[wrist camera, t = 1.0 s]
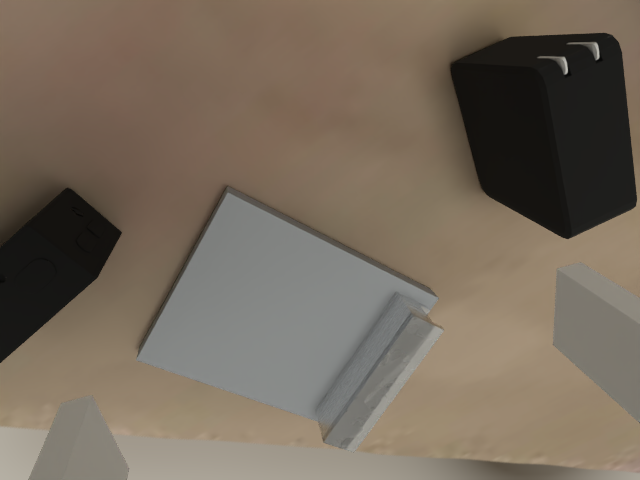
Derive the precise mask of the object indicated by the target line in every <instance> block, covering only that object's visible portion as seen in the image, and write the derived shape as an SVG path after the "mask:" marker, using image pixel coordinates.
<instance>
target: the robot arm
mask: <svg viewBox="0 0 640 480" xmlns="http://www.w3.org/2000/svg"><path fill="white" fill-rule="evenodd" d="M553 345H554V346H555V347H556V348H557V349H558V350H559V351H560V352H562V353H563V354H564V355H565V356H566V357H567V358H568V359H569V360H570V361H571V362H573V363H574V364H575V365H576V366H577V367H578V368H579V369H580V370H581V371H583V372H584V373H585V374H586V375H587V376H588V377H589V378H590V379H591V380H593V381H594V382H595V383H596V384H597V385H598V386H599V387H600V388H601V389H602V390H604V391H605V392H606V393H607V394H608V395H609V396H610V397H611V398H612V399H614V400H615V401H616V402H617V403H618V404H619V405H620V406H621V407H622V408H624V409H625V410H626V411H627V412H628V413H629V414H630V415H631V416H632V417H634V418H635V419H636V420H637V421H638V422H639V423H640V298H639V297H637V296H636V295H634V294H632V293H631V292H629V291H627V290H626V289H624V288H623V287H621V286H619V285H618V284H616V283H614V282H613V281H611V280H609V279H608V278H606V277H604V276H603V275H601V274H600V273H598V272H596V271H595V270H593V269H591V268H590V267H588V266H586V265H585V264H583V263H581V262H579V263H576V264H572V265H568V266H565V267H561V268H557V275H556V295H555V314H554V334H553ZM128 472H129V467H128V465H127V463H126V461H125V460H124V457H123V455H122V453H121V451H120V449H119V447H118V445H117V443H116V441H115V439H114V438H113V435H112V433H111V432H110V430H109V428H108V426H107V424H106V422H105V420H104V418H103V416H102V414H101V412H100V410H99V408H98V406H97V404H96V402H95V400H94V398H93V396H92V395H90V396H86V397H82V398H79V399H75V400H71V401H68V402H64V403H61V405H60V407H59V410H58V412H57V414H56V417H55V419H54V421H53V424H52V426H51V428H50V431H49V433H48V435H47V438H46V440H45V442H44V445H43V447H42V449H41V452H40V454H39V456H38V459H37V461H36V463H35V466H34V468H33V470H32V473H31V475H30V477H29V480H127V476H128Z"/></svg>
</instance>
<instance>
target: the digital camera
mask: <svg viewBox="0 0 640 480" xmlns="http://www.w3.org/2000/svg"><path fill="white" fill-rule="evenodd" d="M76 208H77V209H79V210H77V209H76ZM71 209H72V210H73V211H72V210H71ZM75 213H77V214H78V215H77V214H75ZM121 234H122V232H121V231H119V230H118V229H117V228H116V227H115V226H114V225H112V224H111V223H110V222H109V221H108V220H107V219H105V218H104V217H103V216H102V215H101V214H100V213H98V212H97V211H96V210H95V209H94V208H93V207H92V206H90V205H89V204H88V203H87V202H86V201H85V200H83V199H82V198H81V197H80V196H79V195H78V194H76V193H75V192H74V191H73V190H72V189H70V188H67V189H65V190H64V191H63V192H62V193H61V194H59V195H58V196H57V197H56V198H55V199H54V200H53V201H51V202H50V203H49V204H48V205H47V206H46V207H45V208H43V209H42V210H41V211H40V212H39V213H38V214H37V215H36V216H34V217H33V218H32V219H31V220H30V221H29V222H28V223H27V224H25V225H24V226H23V227H22V228H21V229H20V230H19V231H18V232H17V233H16V234H15V235H13V236H12V237H11V238H10V239H9V240H8V241H7V242H6V243H5V244H4V245H3V246H1V247H0V363H1V362H2V361H3V360H4V359H5V358H7V357H8V356H9V355H10V354H11V353H12V352H13V351H15V350H16V349H17V348H18V347H19V346H20V345H21V344H23V343H24V342H25V341H26V340H27V339H28V338H29V337H31V336H32V335H33V334H34V333H35V332H36V331H37V330H38V329H40V328H41V327H42V326H43V325H44V324H45V323H46V322H48V321H49V320H50V319H51V318H52V317H53V316H54V315H56V314H57V313H58V312H59V311H60V310H61V309H62V308H63V307H65V306H66V305H67V304H68V303H69V302H70V301H71V300H73V299H74V298H75V297H76V296H77V295H78V294H79V293H81V292H82V291H83V290H84V289H85V288H86V287H87V286H88V285H90V284H91V283H92V282H93V281H94V280H95V279H96V278H97V277H98V275H99V274H100V272H101V270H102V268H103V266H104V265H105V263H106V261H107V259H108V257H109V255H110V254H111V252H112V250H113V248H114V246H115V244H116V243H117V241H118V239H119V237H120V235H121Z"/></svg>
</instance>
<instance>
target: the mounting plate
mask: <svg viewBox="0 0 640 480" xmlns="http://www.w3.org/2000/svg"><path fill="white" fill-rule="evenodd" d="M396 291H397V292H399V293H401V294H403V295H405V296H407V297H409V298H411V299H413V300H415V301H417V302H419V303H421V304H423V305H425V306H427V307H428V309H429V311H430V310H431V308H432V307H433V306H434V304H435V303H436V301H437V300H438V299H439V298H438V297H437V296H436V295H435V293H434V292H433V291H432V290H431V289H430V288H428V287H426V286H424V285H422V284H420V283H418V282H416V281H414V280H412V279H410V278H408V277H406V276H404V275H402V274H400V273H398V272H396V271H394V270H392V269H390V268H388V267H386V266H384V265H382V264H380V263H378V262H376V261H374V260H372V259H370V258H368V257H366V256H364V255H363V254H361V253H359V252H357V251H355V250H353V249H351V248H349V247H347V246H345V245H343V244H341V243H339V242H337V241H335V240H333V239H331V238H329V237H327V236H325V235H323V234H321V233H319V232H317V231H315V230H313V229H311V228H309V227H307V226H305V225H303V224H301V223H299V222H298V221H296V220H294V219H292V218H290V217H288V216H286V215H284V214H282V213H280V212H278V211H276V210H274V209H272V208H270V207H268V206H266V205H264V204H262V203H260V202H258V201H256V200H254V199H252V198H250V197H248V196H246V195H244V194H242V193H240V192H238V191H236V190H234V189H232V188H231V187H229V186H227V188H226V190H225V192H224V193H223V195H222V197H221V199H220V201H219V203H218V204H217V206H216V208H215V210H214V212H213V214H212V215H211V217H210V219H209V221H208V223H207V225H206V226H205V228H204V230H203V232H202V234H201V236H200V237H199V239H198V241H197V243H196V245H195V247H194V248H193V250H192V252H191V254H190V256H189V258H188V259H187V261H186V263H185V265H184V267H183V269H182V270H181V272H180V274H179V276H178V278H177V280H176V281H175V283H174V285H173V287H172V289H171V291H170V293H169V294H168V296H167V298H166V300H165V302H164V304H163V305H162V307H161V309H160V311H159V313H158V315H157V316H156V318H155V320H154V322H153V324H152V326H151V327H150V329H149V331H148V333H147V335H146V337H145V338H144V340H143V342H142V344H141V346H140V348H139V351H138V355H137V358H136V360H137V361H140V362H143V363H146V364H149V365H152V366H155V367H158V368H161V369H164V370H166V371H169V372H172V373H175V374H178V375H181V376H184V377H187V378H190V379H193V380H196V381H199V382H202V383H205V384H208V385H211V386H214V387H217V388H220V389H223V390H226V391H229V392H232V393H235V394H238V395H241V396H244V397H247V398H249V399H252V400H255V401H258V402H261V403H264V404H267V405H270V406H273V407H276V408H279V409H282V410H285V411H288V412H291V413H294V414H297V415H300V416H303V417H306V418H309V419H312V420H315V421H318V419H317V415H316V411H315V409H316V408H317V406H318V405H319V403H320V402H321V400H322V399H323V397H324V396H325V394H326V393H327V392H328V390H329V389H330V387H331V386H332V384H333V383H334V381H335V380H336V378H337V377H338V376H339V374H340V373H341V371H342V370H343V368H344V367H345V365H346V364H347V362H348V361H349V360H350V358H351V357H352V355H353V354H354V352H355V351H356V349H357V348H358V346H359V345H360V344H361V342H362V341H363V339H364V338H365V336H366V335H367V333H368V332H369V330H370V329H371V328H372V326H373V325H374V323H375V322H376V320H377V319H378V317H379V316H380V314H381V313H382V312H383V310H384V309H385V307H386V306H387V304H388V303H389V301H390V300H391V298H392V297H393V296H394V294H395V293H396ZM428 313H429V312H428ZM428 313H427V314H428Z"/></svg>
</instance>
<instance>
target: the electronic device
mask: <svg viewBox="0 0 640 480" xmlns="http://www.w3.org/2000/svg"><path fill="white" fill-rule="evenodd" d="M451 72H452V77H453V81H454V85H455V89H456V93H457V96H458V100H459V104H460V108H461V112H462V115H463V119H464V123H465V127H466V131H467V134H468V138H469V142H470V146H471V150H472V153H473V157H474V161H475V165H476V169H477V172H478V176H479V180H480V183H481V186H482V188H483V190H484V192H485V193H486V194H487V195H488V196H489V197H491V198H492V199H494V200H496V201H498V202H500V203H501V204H503V205H505V206H507V207H509V208H510V209H512V210H514V211H516V212H518V213H519V214H521V215H523V216H525V217H527V218H528V219H530V220H532V221H534V222H536V223H537V224H539V225H541V226H543V227H545V228H546V229H548V230H550V231H552V232H554V233H555V234H557V235H559V236H561V237H563V238H566V239H569V238H572V237H574V236H576V235H578V234H580V233H582V232H584V231H586V230H589V229H591V228H593V227H595V226H597V225H599V224H601V223H604V222H606V221H608V220H610V219H612V218H614V217H616V216H619V215H621V214H623V213H625V212H627V211H629V210H631V209H633V208H634V207H635V206H636V202H637V195H636V185H635V176H634V166H633V156H632V147H631V137H630V127H629V118H628V108H627V98H626V88H625V79H624V69H623V59H622V51H621V48H620V45H619V42H618V41H617V40H616V39H615V38H614V37H613V35H610V34H607V33H591V34H567V35H543V36H519V37H509V38H507V39H505V40H503V41H501V42H498V43H496V44H494V45H492V46H490V47H488V48H485V49H483V50H481V51H479V52H477V53H474V54H472V55H470V56H468V57H466V58H464V59H461V60H459V61H457V62H455V63H453V64H452V67H451Z"/></svg>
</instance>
